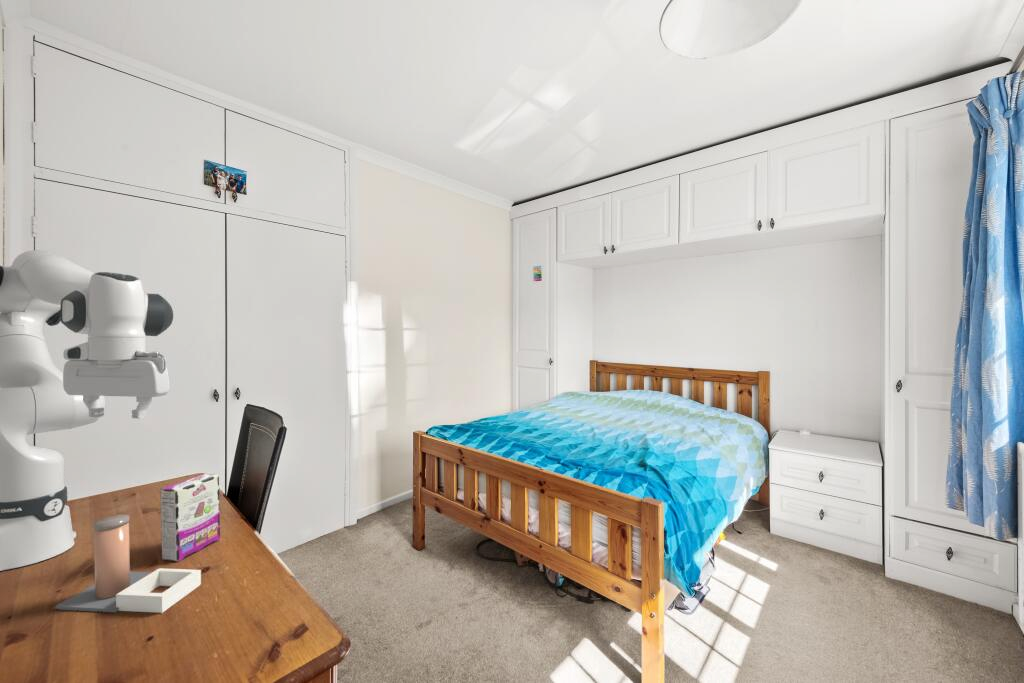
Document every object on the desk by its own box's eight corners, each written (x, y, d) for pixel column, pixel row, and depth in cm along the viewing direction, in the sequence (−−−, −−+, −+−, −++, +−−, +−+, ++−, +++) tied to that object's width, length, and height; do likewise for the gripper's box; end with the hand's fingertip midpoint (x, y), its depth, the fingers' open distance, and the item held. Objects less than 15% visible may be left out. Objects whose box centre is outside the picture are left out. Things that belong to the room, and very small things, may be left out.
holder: (116, 610, 79) (116, 594, 79) (159, 582, 88) (159, 568, 88) (162, 612, 78) (162, 596, 78) (200, 584, 87) (200, 569, 87)
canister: (86, 598, 81) (85, 525, 81) (115, 583, 87) (113, 514, 87) (111, 599, 81) (109, 525, 81) (138, 584, 86) (136, 514, 86)
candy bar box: (204, 537, 108) (204, 473, 107) (220, 539, 107) (220, 474, 106) (159, 560, 97) (159, 488, 96) (177, 562, 96) (177, 490, 95)
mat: (55, 609, 79) (55, 606, 79) (118, 573, 91) (118, 570, 91) (115, 612, 78) (116, 609, 78) (171, 575, 90) (171, 573, 90)
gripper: (178, 351, 91) (177, 415, 91) (88, 349, 92) (88, 413, 92) (151, 352, 85) (151, 421, 85) (55, 350, 86) (55, 419, 86)
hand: (117, 417), depth 89 cm, fingers open, 8 cm apart
